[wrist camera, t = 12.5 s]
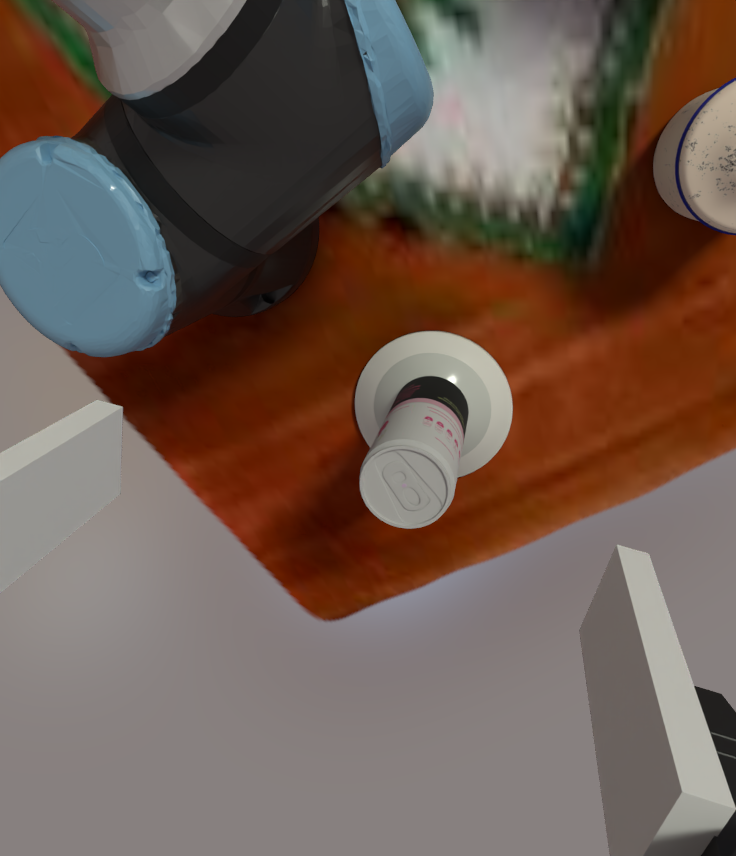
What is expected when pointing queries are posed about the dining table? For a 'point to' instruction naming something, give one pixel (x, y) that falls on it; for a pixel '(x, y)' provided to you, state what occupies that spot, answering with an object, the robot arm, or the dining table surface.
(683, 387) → the dining table surface
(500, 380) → the plate
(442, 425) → the beverage can
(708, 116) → the teacup with lid
